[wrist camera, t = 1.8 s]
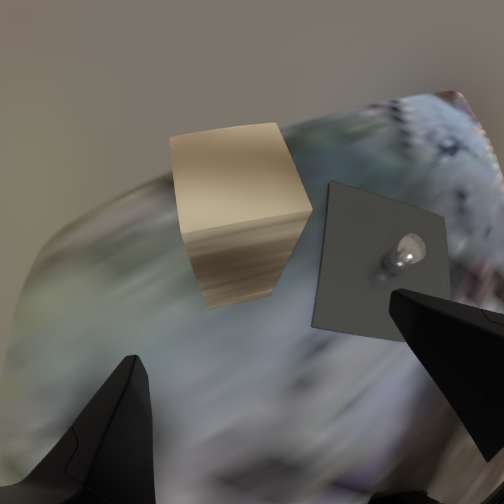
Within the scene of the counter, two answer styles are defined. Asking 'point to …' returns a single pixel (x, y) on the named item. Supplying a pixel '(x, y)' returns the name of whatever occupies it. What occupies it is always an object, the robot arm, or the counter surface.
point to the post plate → (375, 261)
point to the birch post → (237, 209)
